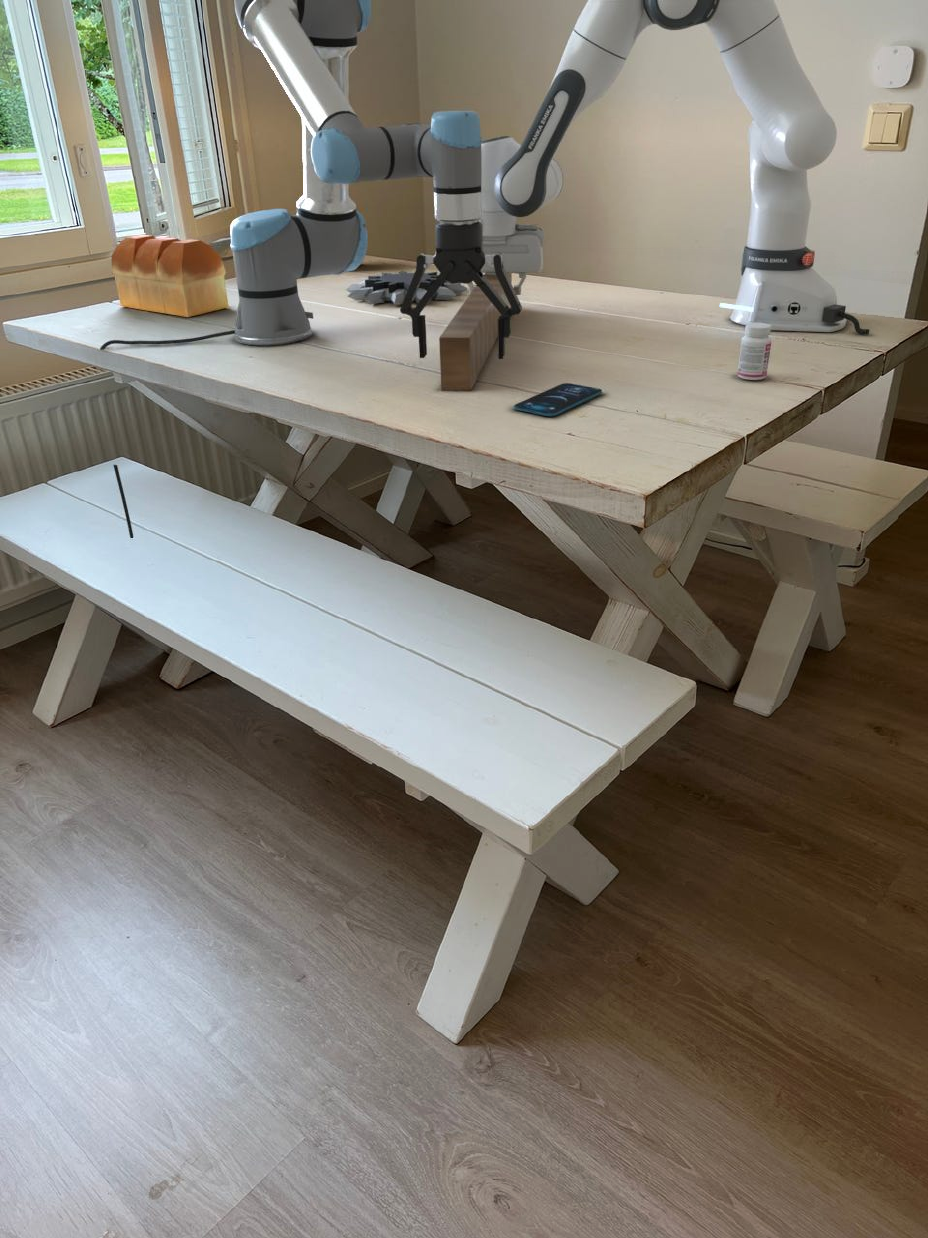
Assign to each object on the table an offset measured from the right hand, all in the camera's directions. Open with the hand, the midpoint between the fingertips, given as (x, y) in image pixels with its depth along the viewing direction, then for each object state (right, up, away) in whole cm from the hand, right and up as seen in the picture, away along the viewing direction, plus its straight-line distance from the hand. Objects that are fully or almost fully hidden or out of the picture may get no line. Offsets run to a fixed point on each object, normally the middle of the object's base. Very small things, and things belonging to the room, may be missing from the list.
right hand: (495, 294), depth 201 cm
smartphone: (+8, -35, -53) cm, 64 cm away
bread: (-74, +3, +19) cm, 77 cm away
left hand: (-7, -25, -41) cm, 49 cm away
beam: (-3, -16, -18) cm, 24 cm away
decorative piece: (-20, +8, +24) cm, 32 cm away
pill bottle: (+41, -29, -44) cm, 67 cm away
